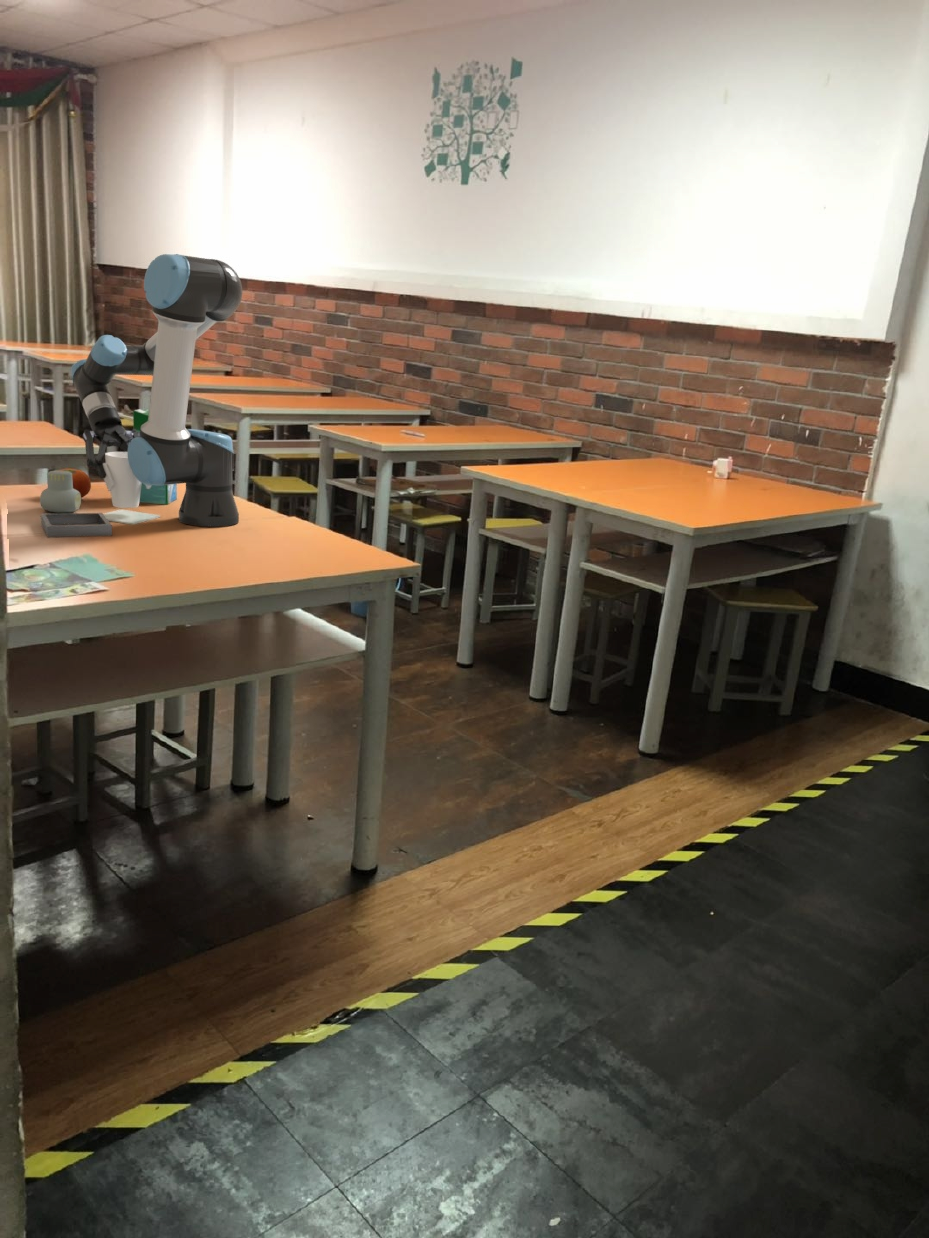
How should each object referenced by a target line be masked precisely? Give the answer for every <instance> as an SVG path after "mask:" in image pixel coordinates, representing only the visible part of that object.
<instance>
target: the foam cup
mask: <svg viewBox="0 0 929 1238" xmlns="http://www.w3.org/2000/svg"><path fill="white" fill-rule="evenodd" d="M104 463H106V464H107V467H108V469H109V472H110V474H111V477H112V479H113V482H114V484H115V485H114V487H113V489H112V491H110V496H111V502H112V507H114V508H120V509H133V508H138V507H139V504H140V502H139V501H140V493H141V485H142V483H141V482H140V481H139V480H138V479H137V478H136V477H135V475H134V474H133V472H132V469H131V468H130V465H129V461H128V452H126V451H108V452H105V454H104Z"/></svg>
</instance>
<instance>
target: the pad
mask: <svg viewBox="0 0 929 1238" xmlns="http://www.w3.org/2000/svg"><path fill="white" fill-rule="evenodd" d="M103 515H104V516H105V517H106V519H107V520H108V521H109V522H113V523H120V524H126V525H130V526H131V525H137V524H141V523H144V522H148V521H152V520H155V519H157V518H161V517H162V515H160V514H154V513H147V512H140V511H135V510H127V509H123V508H120V509H117V510H112V511H108V512H105V513H103Z"/></svg>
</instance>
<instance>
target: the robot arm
mask: <svg viewBox="0 0 929 1238" xmlns="http://www.w3.org/2000/svg"><path fill="white" fill-rule="evenodd" d="M143 279H144V280H143V281H144V282H143V291H144V293H145V295H144V296H145V298H146V301H147V302H148V303H149V305H151V307H152V314H153V315H154V317H156V319H157V321H158V324H157V331H156V332H155V333H154V334H153V335H151V337H150V338H149V339H148V340H147V341H146V342H144V343H143V344H141V345H135V344H134V345H133V344H125V342H123V341H122V340H121V339H120V338H119V337H116V336H115V337H114V336H113V335H112V334H111V335H110V334H104V335H101V336H99V337H98V339H97V340H96V342H95V343H94V344H93V345H92V347H91V349H90V352H89V354H88V356H87V358H83V359H80V360H77V361H76V363H73V364H72V365H71V367H70V375H71V380H72V383H73V386H74V388H75V390H76V393H77V395H78V397H79V399H80V402H81V405H82V407H83V411H84V413H85V415H86V417H87V419H88V420H87V421H88V423H89V425H90V429H91V430H89V429H84V431H83V434H82V436H81V437H82V439H83V442H84V444H85V446H84V447H85V456H86V457H85V459H86V466H87V468H92V467H93V469H94V471H95V472H97V473H98V476H99V478H100V479H103V481H104V483H105V486H106V489H107V491H108V492H111V491H112V489H113V487H114V485H115V484H114V482H113V479H112V477H111V474H110V472H109V469H108V467H107V464H106V463H105V462H103V461H104V459H105V453H106V449H107V447H118V448H120V450H123V451H124V452H128V461H129V465H130V468H131V469H132V472H133V474H134V475H135V477H136V478H137V479H138V480H139V481H140V482H141V483H143V484H145V485H146V488H147V489H150V488H151V486H152V485H158V486H163V485H170V484H177V485H179V484H185V492H184V496H183V497H182V502H181V504H180V506H179V510H178V521H179V522H181V523H182V524H186V525H190V526H197V527H209V528H211V527H214V528H216V527H229V526H234V525H236V524H238V523H239V521H240V520H239V519H240V517H239V516H240V514H239V510H238V506H237V503H236V500H235V497H234V494H233V468H234V467H233V464H234V461H233V459H234V458H233V457H234V447H233V446H234V445H233V439H232V437H231V436H230V435H228V434H225V433H219V432H216V431H214V432H213V431H208V430H202V429H196V428H195V429H193V428H186V422H187V413H188V404H189V397H190V390H191V388H190V387H191V380H192V373H193V364H194V357H195V350H196V341H197V340H198V339H199V338H200V337H201V336H202V335H203V334H205V333H206V332H207V331H208V330H209V329H210V328H211V327H213V326H214V325H215V324H216V323H222V322H225V321H227V320H228V319H229V318H230V317H231V316H233V314H234V313H235V312H236V311H237V309H238V308H239V306H240V304H241V301H242V299H243V298H242V297H243V285H242V282H241V279H240V277H239V275H238V273H237V272H236V270H234V268H233V267H232V266H230V265H229V264H228V263H226V262H224V261H222V260H219V259H216V258H215V259H213V258H204V257H198V256H190V255H184V254H178V253H176V254H167V253H164V254H160V255H157V256H156V257H155V258H154V259H153V260H152V261H151V262H150V263H149V265H148V267H147V268H146V271H145V274H144V278H143ZM115 376H152V380H151V391H150V399H149V408H148V409H149V417H148V421H147V422H146V423H144V424H143V425H142V426H141V429H140V437H139V436H138V433H137V430H136V429H133V428H132V430H126V429H125V428H124V427H123V424H122V419H121V417H120V414H119V412H118V409H117V407H116V405H115V403H114V400H113V398H112V395H111V393H110V390H109V387H108V386H109V384H110V383H111V382H112V380H113V379H114V377H115ZM94 438H95V439H96V440H97V441H99V446H98V451H97V456H96V459H95V450H94V440H93V439H94Z"/></svg>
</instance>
